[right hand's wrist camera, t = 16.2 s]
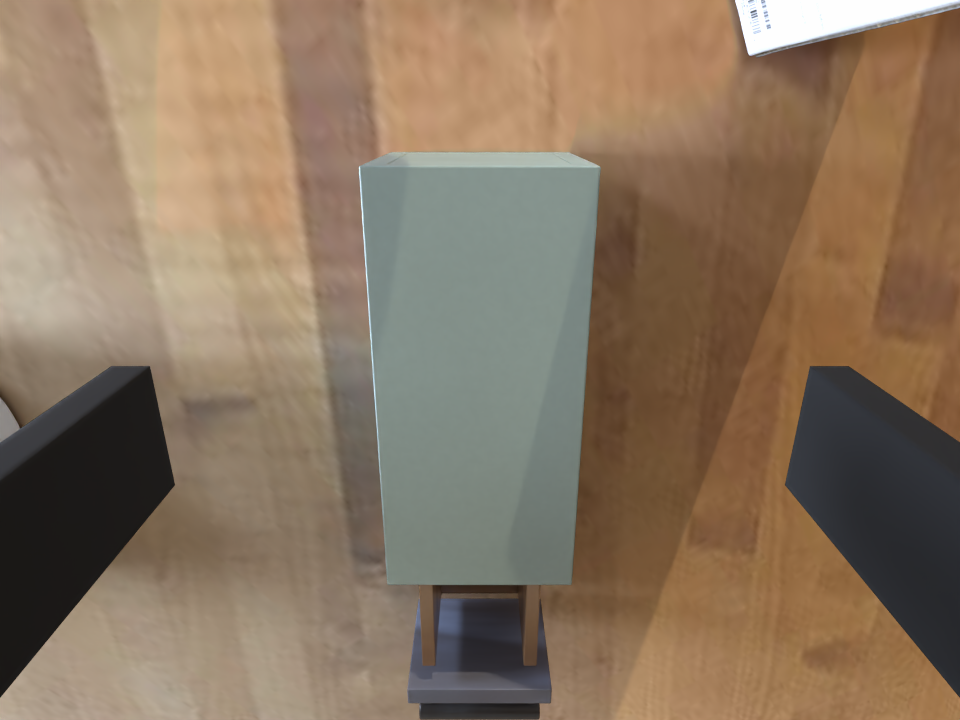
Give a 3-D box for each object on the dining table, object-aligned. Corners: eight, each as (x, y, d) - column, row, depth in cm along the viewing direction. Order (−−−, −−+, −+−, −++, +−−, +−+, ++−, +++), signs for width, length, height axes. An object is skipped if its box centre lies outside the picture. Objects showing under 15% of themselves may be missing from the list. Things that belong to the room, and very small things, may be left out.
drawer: (537, 667, 48) (547, 765, 41) (421, 667, 48) (411, 765, 41) (551, 350, 38) (568, 405, 31) (407, 350, 38) (390, 405, 31)
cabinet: (552, 485, 43) (571, 585, 34) (406, 485, 43) (387, 585, 34) (569, 152, 35) (600, 166, 26) (390, 152, 35) (358, 165, 26)
